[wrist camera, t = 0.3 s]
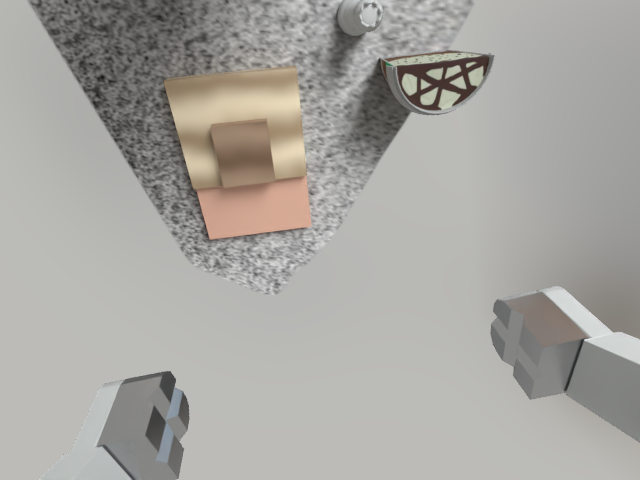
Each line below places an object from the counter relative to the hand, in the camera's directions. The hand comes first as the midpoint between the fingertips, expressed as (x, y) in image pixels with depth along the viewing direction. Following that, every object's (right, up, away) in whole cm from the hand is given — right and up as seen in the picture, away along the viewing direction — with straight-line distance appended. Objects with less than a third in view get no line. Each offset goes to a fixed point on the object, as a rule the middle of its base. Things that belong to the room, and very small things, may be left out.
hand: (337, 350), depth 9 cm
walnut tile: (-11, +15, +40) cm, 44 cm away
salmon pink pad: (-10, +8, +47) cm, 49 cm away
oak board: (-11, +18, +41) cm, 46 cm away
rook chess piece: (+4, +31, +36) cm, 48 cm away
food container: (+12, +25, +41) cm, 50 cm away
